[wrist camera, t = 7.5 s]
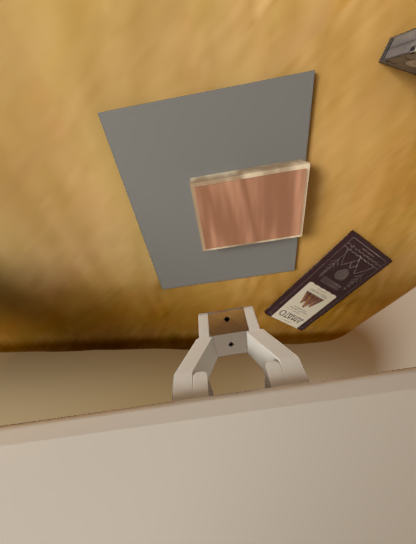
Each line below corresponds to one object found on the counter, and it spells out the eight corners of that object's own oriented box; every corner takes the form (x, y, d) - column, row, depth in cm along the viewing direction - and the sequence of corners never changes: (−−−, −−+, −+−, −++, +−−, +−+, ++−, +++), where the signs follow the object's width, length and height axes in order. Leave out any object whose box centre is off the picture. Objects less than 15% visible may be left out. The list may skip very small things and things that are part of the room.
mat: (162, 286, 34) (162, 289, 33) (99, 113, 21) (97, 113, 20) (292, 268, 32) (294, 270, 32) (312, 71, 19) (315, 70, 19)
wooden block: (202, 252, 26) (302, 237, 26) (189, 184, 22) (311, 163, 21) (202, 241, 29) (294, 227, 28) (190, 178, 24) (300, 159, 23)
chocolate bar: (392, 261, 32) (301, 330, 40) (387, 257, 32) (299, 326, 41) (354, 231, 29) (265, 313, 37) (350, 228, 29) (263, 309, 38)
